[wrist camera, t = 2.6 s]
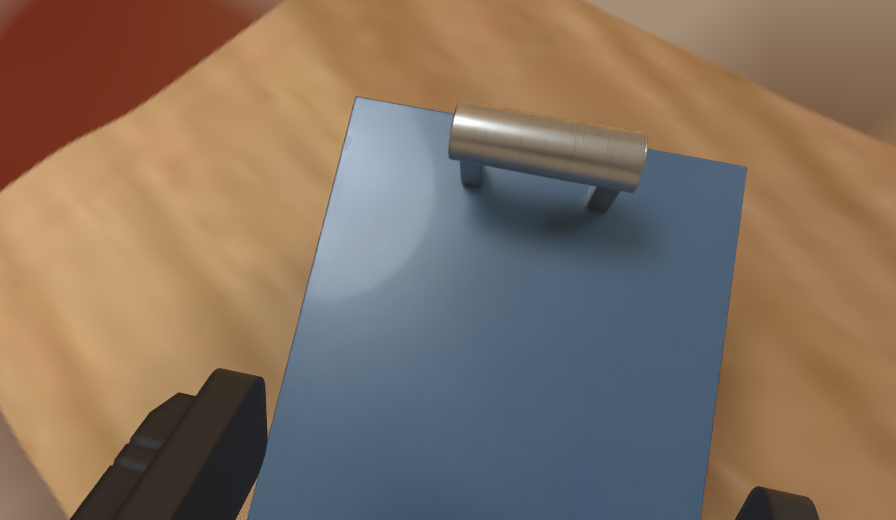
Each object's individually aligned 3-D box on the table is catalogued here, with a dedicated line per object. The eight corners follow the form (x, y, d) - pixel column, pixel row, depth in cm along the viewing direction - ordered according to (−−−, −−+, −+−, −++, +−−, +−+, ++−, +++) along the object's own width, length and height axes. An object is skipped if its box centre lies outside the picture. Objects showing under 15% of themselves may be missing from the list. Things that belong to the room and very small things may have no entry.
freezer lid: (359, 105, 24) (326, 23, 19) (738, 174, 22) (813, 106, 17) (228, 620, 20) (145, 691, 15) (663, 730, 19) (728, 845, 14)
